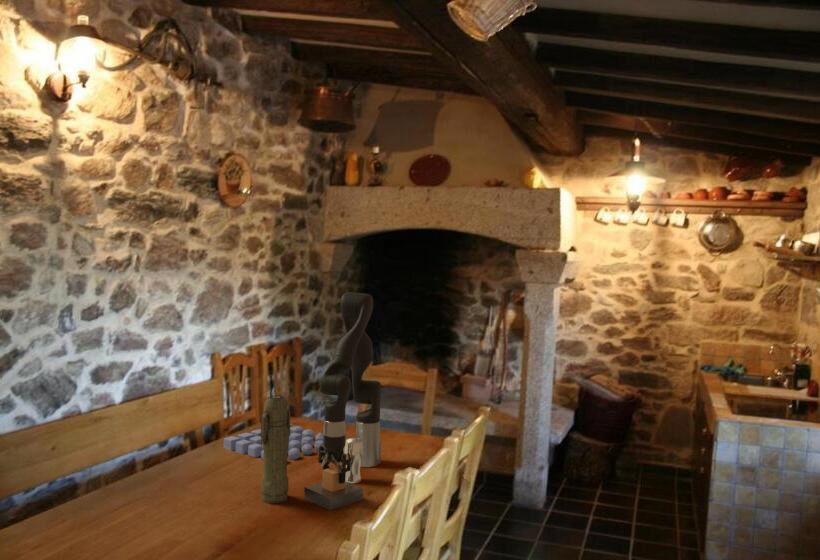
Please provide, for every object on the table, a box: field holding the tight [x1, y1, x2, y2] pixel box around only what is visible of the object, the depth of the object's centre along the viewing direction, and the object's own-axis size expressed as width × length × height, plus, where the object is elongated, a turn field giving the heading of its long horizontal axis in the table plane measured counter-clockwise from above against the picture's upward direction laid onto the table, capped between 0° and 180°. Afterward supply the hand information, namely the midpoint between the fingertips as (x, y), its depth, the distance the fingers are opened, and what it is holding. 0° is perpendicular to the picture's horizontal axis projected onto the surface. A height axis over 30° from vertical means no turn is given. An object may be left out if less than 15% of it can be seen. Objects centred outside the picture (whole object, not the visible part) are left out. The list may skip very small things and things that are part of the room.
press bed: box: [303, 481, 364, 511], centre depth 238 cm, size 14×14×4 cm
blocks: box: [223, 423, 323, 461], centre depth 296 cm, size 35×34×5 cm
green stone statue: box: [260, 394, 291, 504], centre depth 236 cm, size 9×12×35 cm
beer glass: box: [343, 437, 363, 484], centre depth 257 cm, size 7×7×15 cm
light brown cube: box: [321, 466, 345, 492], centre depth 238 cm, size 6×6×6 cm
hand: (333, 479), depth 238 cm, fingers open, 8 cm apart
